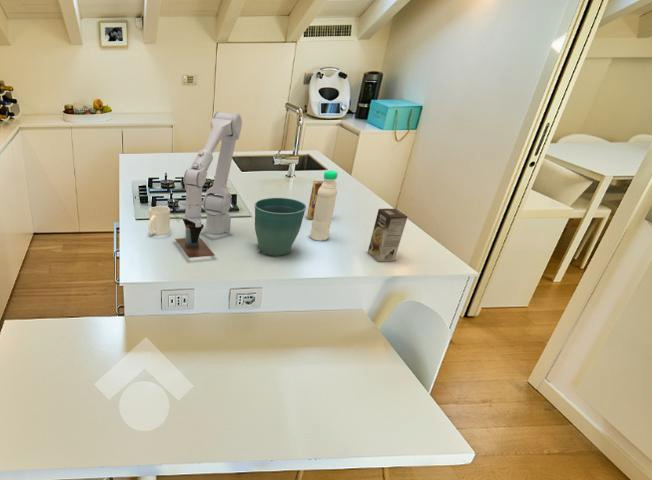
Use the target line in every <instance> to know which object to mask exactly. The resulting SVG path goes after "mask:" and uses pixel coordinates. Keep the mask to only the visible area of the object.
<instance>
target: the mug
mask: <svg viewBox="0 0 652 480" xmlns="http://www.w3.org/2000/svg"><path fill="white" fill-rule="evenodd" d="M148 211H149V213H148V214H149V217H148V219H149V221H148V232H149V234H150V235H151V236H152V235H156V236H163V235H168V234H169V233H171V208H170V207H168V206H164V205H159V206H157V205H156V206H152V207H150V208H149V209H148Z"/></svg>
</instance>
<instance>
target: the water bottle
mask: <svg viewBox="0 0 652 480" xmlns="http://www.w3.org/2000/svg"><path fill="white" fill-rule="evenodd" d="M337 178H338V172H337V171H336V170H326V171H324V172H323V181H324V182H323V183H322V185H321V187H320V188H319V190H318V193H317V194H318V196H317V200H316V204H315V210H314V218H313V219H312V222H311V228H310V232H309V237H310V239H312V240H315V241H326V240H328V238H329V235H330V228H331V224H332V219H333V214H334V211H335V206H336V205H335V204H336V200H337V198H336V197H337V195H338V188H337V183H336V184H335V182H336V180H337Z"/></svg>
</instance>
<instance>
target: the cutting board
mask: <svg viewBox="0 0 652 480" xmlns="http://www.w3.org/2000/svg"><path fill="white" fill-rule="evenodd" d="M174 239H175V241H176V243H177V244H178V245H179V247H180V248H181V250H182V251H183V252H184V254H185V255H186V256H187V258H188V259H192V258H193V259H194V258H202V257H204V258H205V257H214V256H215V253H214V252H213V251H212V250H211V249H210V247H209V246H208V245H207V244H206V243H205V242H204V241H203V238H201V236H200V237H199V245H198V246H187V245H185V237H181V238H179V237H178V238H174Z"/></svg>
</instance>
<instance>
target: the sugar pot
mask: <svg viewBox="0 0 652 480" xmlns="http://www.w3.org/2000/svg"><path fill="white" fill-rule="evenodd" d="M184 228H185V231H184V232H185V233H184V238H185V245H187V246H198V245H199V238H198V242H197V243H192V242H191V234H190V229H189V227H188V225H186V226H185V225H184ZM200 235H201V234H200ZM200 235H199V237H200V238H201V236H200Z"/></svg>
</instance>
